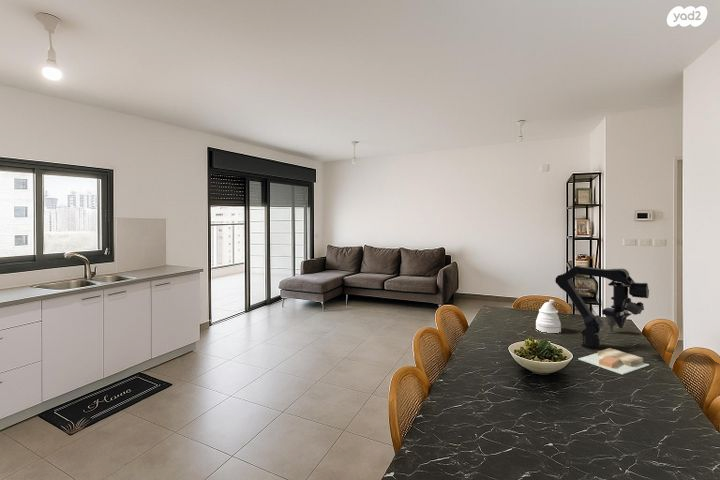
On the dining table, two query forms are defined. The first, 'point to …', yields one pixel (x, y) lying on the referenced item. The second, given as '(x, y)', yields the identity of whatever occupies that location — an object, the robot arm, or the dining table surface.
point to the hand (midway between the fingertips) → (620, 327)
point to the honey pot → (548, 319)
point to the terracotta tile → (609, 361)
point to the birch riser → (621, 357)
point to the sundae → (610, 324)
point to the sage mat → (618, 369)
